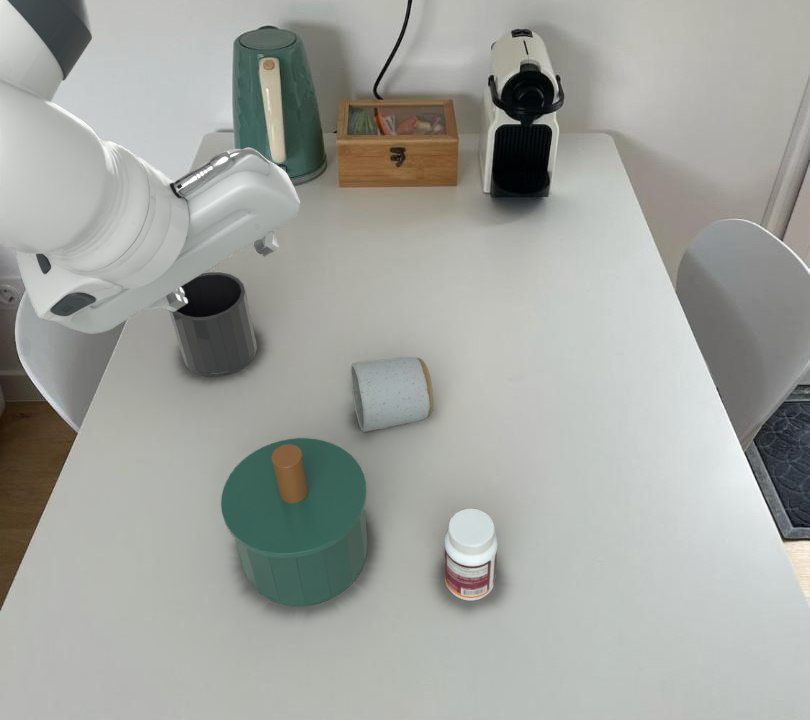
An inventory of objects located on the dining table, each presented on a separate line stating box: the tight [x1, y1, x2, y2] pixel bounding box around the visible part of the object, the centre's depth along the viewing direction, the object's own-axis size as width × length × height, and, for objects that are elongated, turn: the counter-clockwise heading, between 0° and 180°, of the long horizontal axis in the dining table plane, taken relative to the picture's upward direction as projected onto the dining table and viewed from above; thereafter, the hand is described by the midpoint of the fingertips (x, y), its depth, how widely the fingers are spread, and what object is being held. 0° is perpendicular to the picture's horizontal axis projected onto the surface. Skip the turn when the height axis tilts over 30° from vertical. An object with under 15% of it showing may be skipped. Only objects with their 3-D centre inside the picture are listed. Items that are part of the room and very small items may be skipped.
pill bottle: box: [443, 507, 499, 601], centre depth 73 cm, size 5×5×8 cm
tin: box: [234, 509, 369, 607], centre depth 76 cm, size 12×12×8 cm
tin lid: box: [220, 437, 368, 558], centre depth 71 cm, size 13×13×6 cm
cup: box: [168, 271, 258, 378], centre depth 98 cm, size 9×9×9 cm
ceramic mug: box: [350, 356, 434, 433], centre depth 90 cm, size 11×8×8 cm
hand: (224, 272), depth 68 cm, fingers open, 8 cm apart
